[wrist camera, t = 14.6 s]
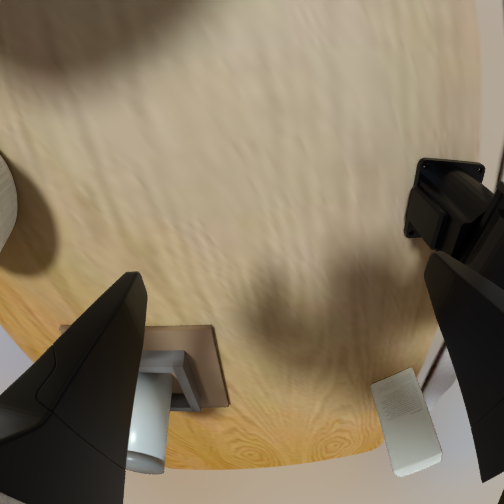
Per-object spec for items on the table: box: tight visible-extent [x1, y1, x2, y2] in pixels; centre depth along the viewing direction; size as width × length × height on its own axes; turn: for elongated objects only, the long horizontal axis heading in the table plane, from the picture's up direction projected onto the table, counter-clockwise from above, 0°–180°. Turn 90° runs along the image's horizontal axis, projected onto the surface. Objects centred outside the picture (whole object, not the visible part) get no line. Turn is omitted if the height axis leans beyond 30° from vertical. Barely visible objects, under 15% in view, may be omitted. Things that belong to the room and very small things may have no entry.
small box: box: [370, 367, 442, 477], centre depth 34 cm, size 8×6×13 cm
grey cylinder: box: [126, 372, 173, 474], centre depth 28 cm, size 5×5×11 cm
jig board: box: [59, 325, 229, 412], centre depth 32 cm, size 16×16×3 cm
